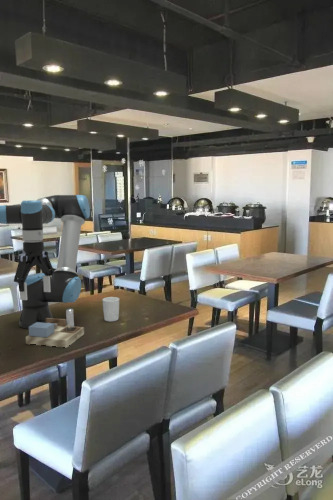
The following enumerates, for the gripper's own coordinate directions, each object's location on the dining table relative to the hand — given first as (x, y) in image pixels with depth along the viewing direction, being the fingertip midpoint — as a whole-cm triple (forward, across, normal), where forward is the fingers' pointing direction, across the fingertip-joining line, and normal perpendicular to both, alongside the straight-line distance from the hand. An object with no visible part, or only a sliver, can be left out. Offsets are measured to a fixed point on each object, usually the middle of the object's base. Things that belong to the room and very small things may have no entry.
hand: (36, 295), depth 158 cm
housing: (+18, +6, +3) cm, 19 cm away
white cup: (+21, +42, -9) cm, 48 cm away
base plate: (+21, +11, 0) cm, 24 cm away
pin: (+21, +15, -5) cm, 26 cm away
